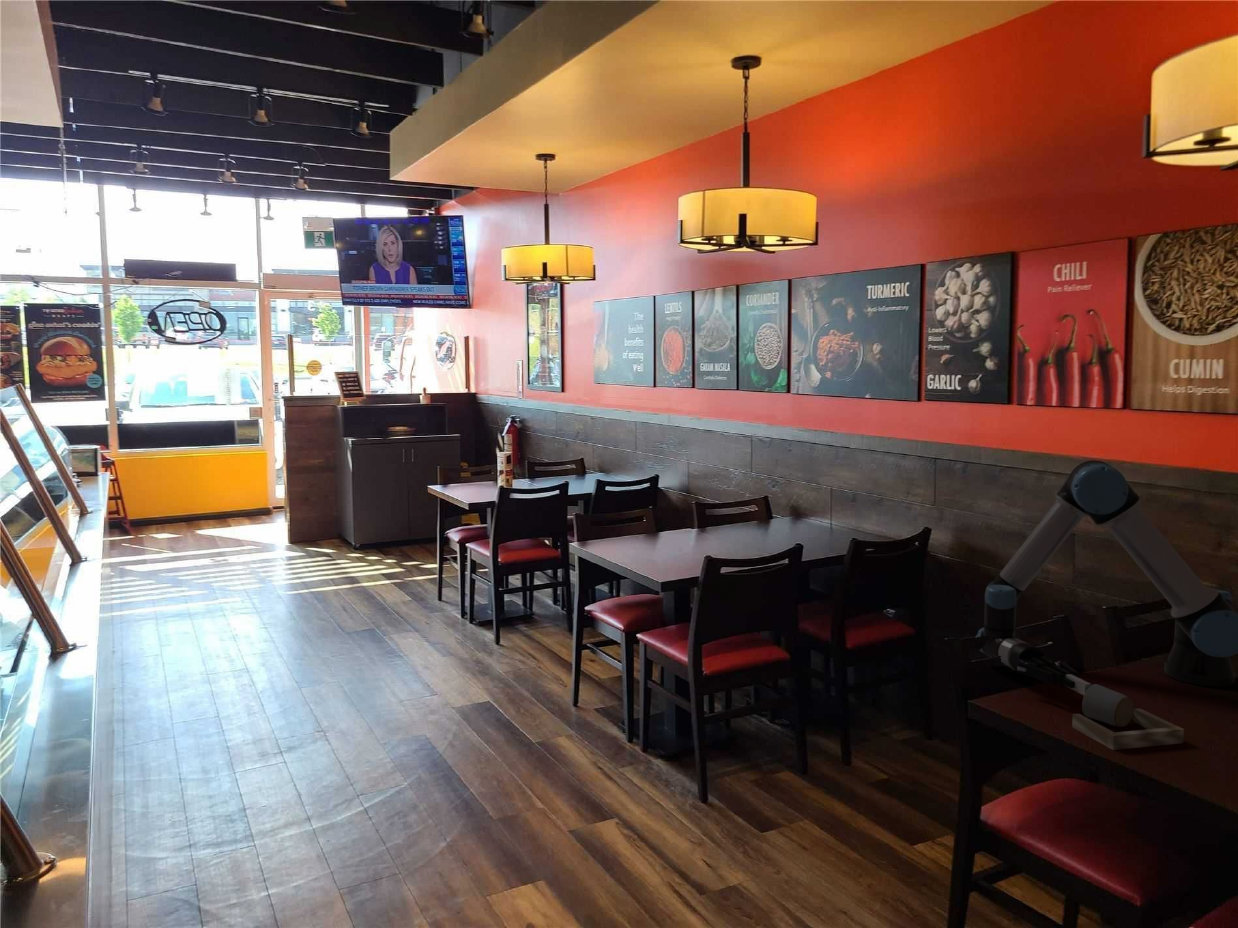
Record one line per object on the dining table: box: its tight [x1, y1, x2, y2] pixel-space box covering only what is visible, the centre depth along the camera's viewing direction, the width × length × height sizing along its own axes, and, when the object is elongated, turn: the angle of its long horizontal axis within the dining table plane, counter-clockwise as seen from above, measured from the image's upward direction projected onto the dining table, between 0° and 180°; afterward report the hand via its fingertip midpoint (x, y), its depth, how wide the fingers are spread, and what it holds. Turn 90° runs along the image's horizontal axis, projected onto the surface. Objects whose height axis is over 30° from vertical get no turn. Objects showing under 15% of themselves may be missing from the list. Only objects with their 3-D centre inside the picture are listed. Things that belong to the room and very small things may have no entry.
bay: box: [1071, 707, 1185, 751], centre depth 188 cm, size 17×12×3 cm
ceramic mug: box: [1081, 683, 1135, 728], centre depth 195 cm, size 11×8×8 cm
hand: (1087, 689), depth 197 cm, fingers closed
